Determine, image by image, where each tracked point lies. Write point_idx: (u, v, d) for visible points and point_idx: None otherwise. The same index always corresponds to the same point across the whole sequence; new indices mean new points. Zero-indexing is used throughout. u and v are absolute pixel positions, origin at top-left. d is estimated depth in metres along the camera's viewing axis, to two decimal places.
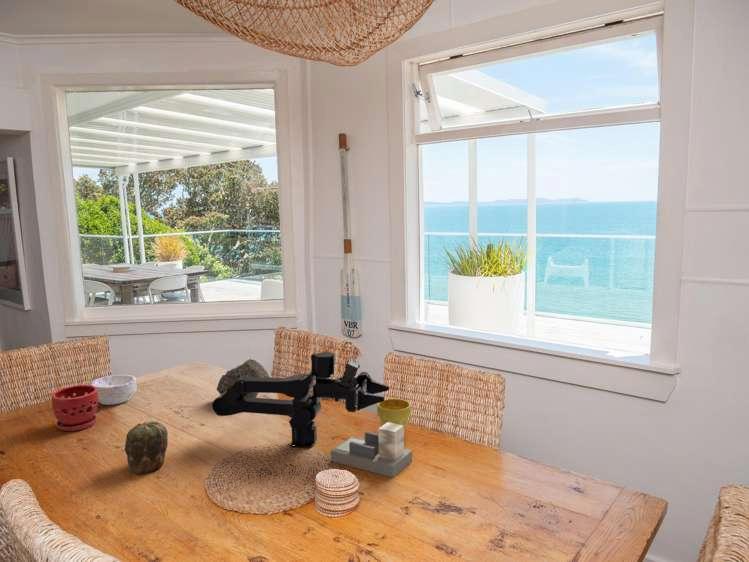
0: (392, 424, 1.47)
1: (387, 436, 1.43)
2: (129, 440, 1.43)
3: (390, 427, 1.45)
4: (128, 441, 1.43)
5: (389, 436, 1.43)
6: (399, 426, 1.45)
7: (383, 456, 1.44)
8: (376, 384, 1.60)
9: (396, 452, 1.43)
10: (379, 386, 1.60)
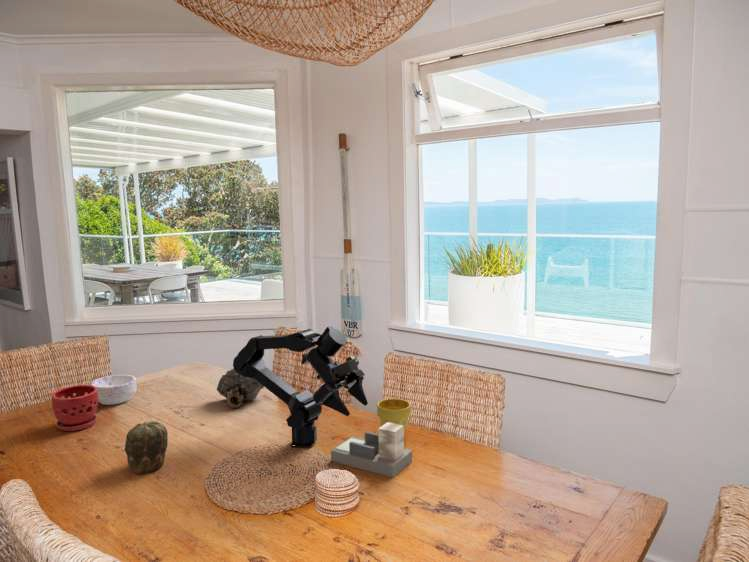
0: (392, 424, 1.47)
1: (387, 436, 1.43)
2: (129, 440, 1.43)
3: (390, 427, 1.45)
4: (128, 441, 1.43)
5: (389, 436, 1.43)
6: (399, 426, 1.45)
7: (383, 456, 1.44)
8: (360, 392, 1.55)
9: (396, 452, 1.43)
10: (361, 396, 1.55)
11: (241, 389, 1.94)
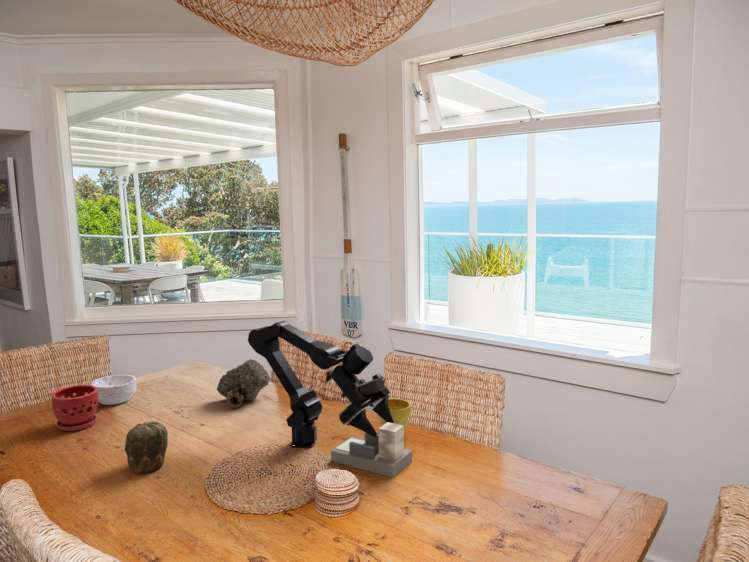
0: (392, 424, 1.47)
1: (387, 436, 1.43)
2: (129, 440, 1.43)
3: (390, 427, 1.45)
4: (128, 441, 1.43)
5: (389, 436, 1.43)
6: (399, 426, 1.45)
7: (383, 456, 1.44)
8: (386, 411, 1.51)
9: (396, 452, 1.43)
10: (387, 414, 1.51)
11: (241, 389, 1.94)
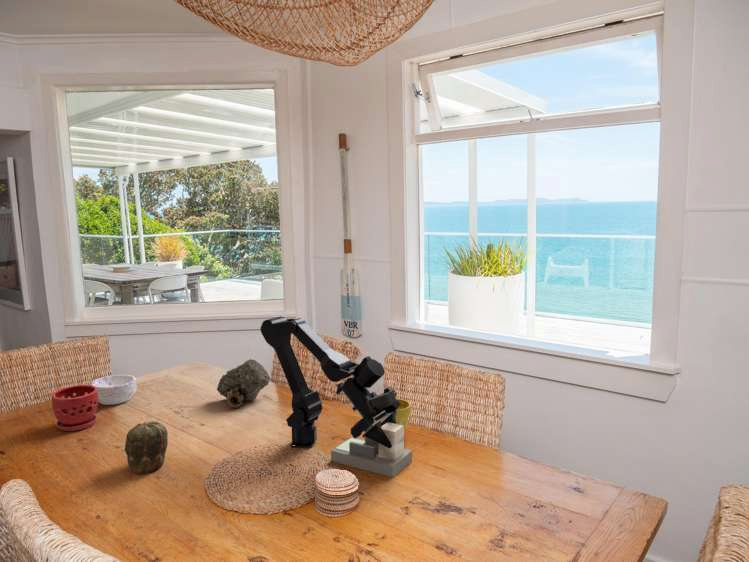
0: (392, 424, 1.47)
1: (387, 436, 1.43)
2: (129, 440, 1.43)
3: (390, 427, 1.45)
4: (128, 441, 1.43)
5: (389, 436, 1.43)
6: (399, 426, 1.45)
7: (383, 456, 1.44)
8: None
9: (396, 452, 1.43)
10: None
11: (241, 389, 1.94)
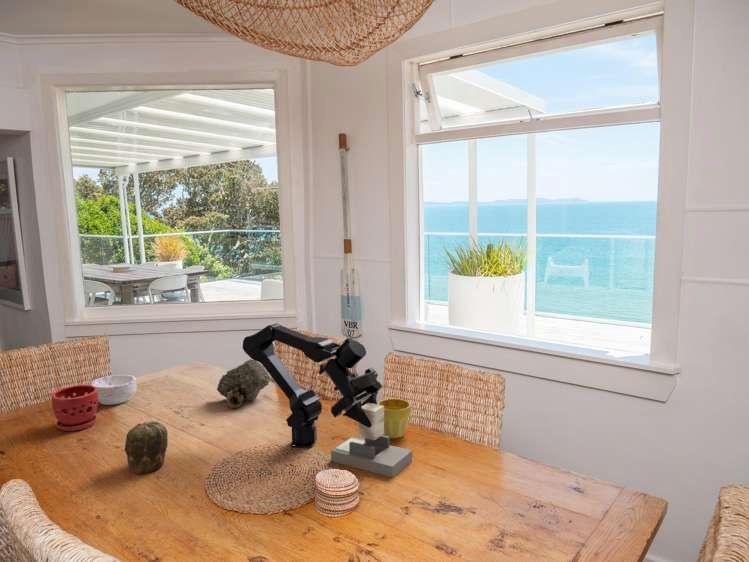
0: (373, 404, 1.49)
1: (367, 415, 1.45)
2: (129, 440, 1.43)
3: (370, 406, 1.48)
4: (128, 441, 1.43)
5: (368, 416, 1.45)
6: (380, 406, 1.48)
7: (363, 435, 1.47)
8: None
9: (376, 431, 1.46)
10: None
11: (241, 389, 1.94)
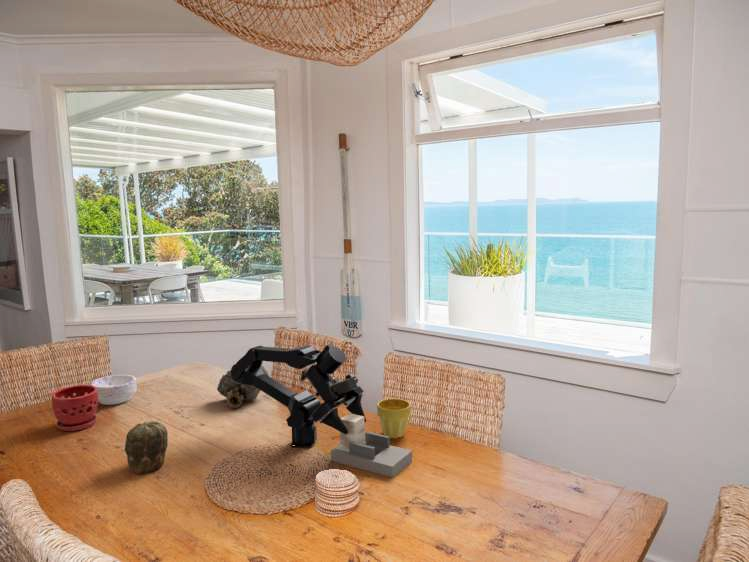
0: (353, 415, 1.53)
1: (348, 426, 1.49)
2: (129, 440, 1.43)
3: (351, 417, 1.51)
4: (128, 441, 1.43)
5: (349, 426, 1.49)
6: (360, 417, 1.52)
7: (344, 445, 1.51)
8: (359, 409, 1.56)
9: (356, 442, 1.49)
10: (359, 413, 1.55)
11: (241, 389, 1.94)
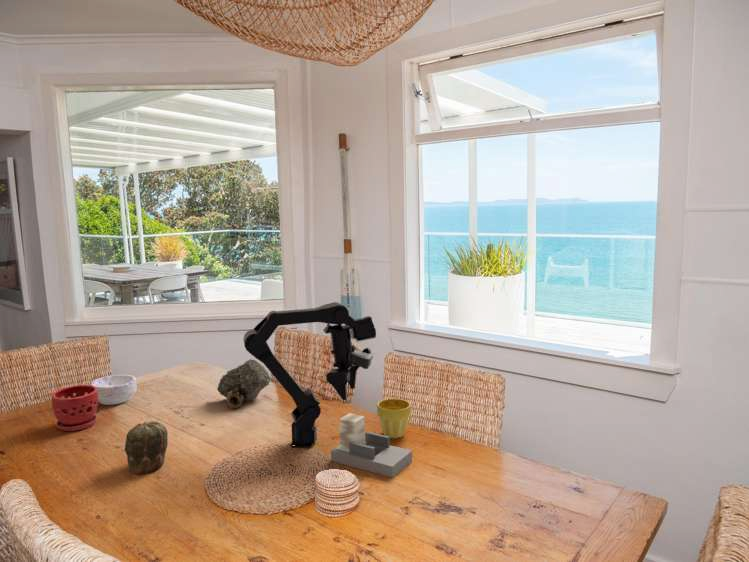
0: (353, 415, 1.53)
1: (348, 426, 1.49)
2: (129, 440, 1.43)
3: (351, 417, 1.51)
4: (128, 441, 1.43)
5: (349, 426, 1.49)
6: (360, 417, 1.52)
7: (344, 445, 1.51)
8: (354, 376, 1.68)
9: (356, 442, 1.49)
10: (352, 379, 1.68)
11: (241, 389, 1.94)
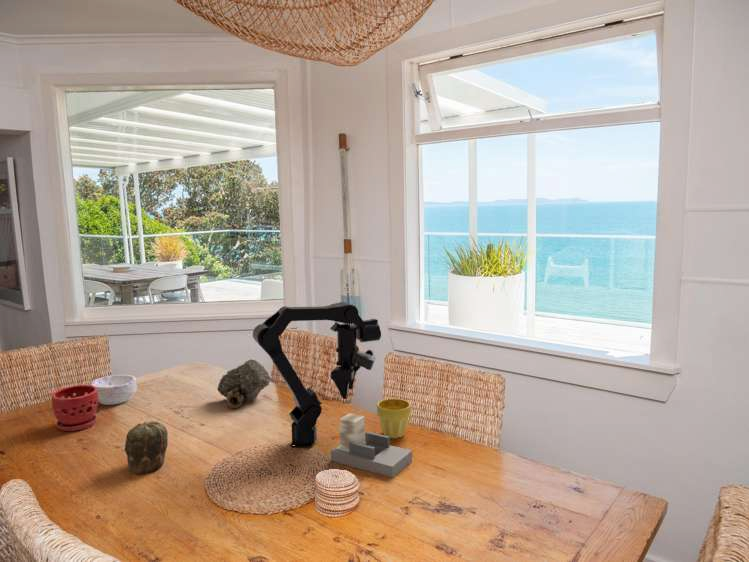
0: (353, 415, 1.53)
1: (348, 426, 1.49)
2: (129, 440, 1.43)
3: (351, 417, 1.51)
4: (128, 441, 1.43)
5: (349, 426, 1.49)
6: (360, 417, 1.52)
7: (344, 445, 1.51)
8: (353, 377, 1.70)
9: (356, 442, 1.49)
10: (351, 380, 1.70)
11: (241, 389, 1.94)
